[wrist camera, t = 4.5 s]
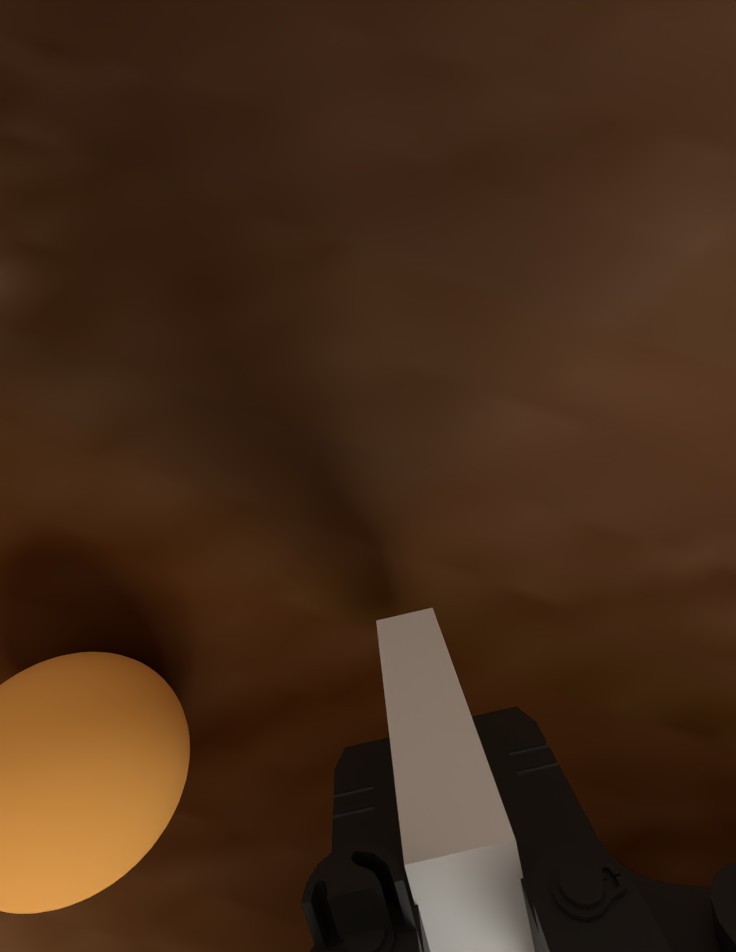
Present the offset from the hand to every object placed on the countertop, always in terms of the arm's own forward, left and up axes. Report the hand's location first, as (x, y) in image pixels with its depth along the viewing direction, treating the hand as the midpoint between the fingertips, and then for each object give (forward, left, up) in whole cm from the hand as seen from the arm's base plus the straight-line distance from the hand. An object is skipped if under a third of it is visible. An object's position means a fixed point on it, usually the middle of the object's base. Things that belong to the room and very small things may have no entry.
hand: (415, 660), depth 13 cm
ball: (+9, 0, +1) cm, 9 cm away
